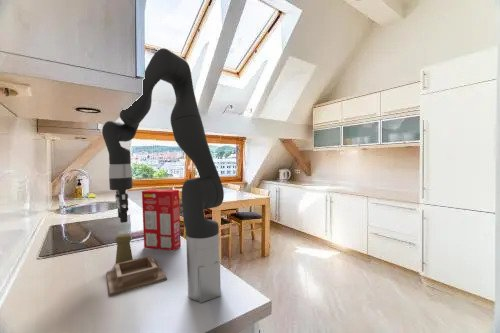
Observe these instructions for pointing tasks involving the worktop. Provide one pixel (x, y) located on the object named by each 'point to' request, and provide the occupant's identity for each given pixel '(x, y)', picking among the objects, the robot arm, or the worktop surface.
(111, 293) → the shaker holder
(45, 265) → the worktop surface
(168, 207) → the food packaging
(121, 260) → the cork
